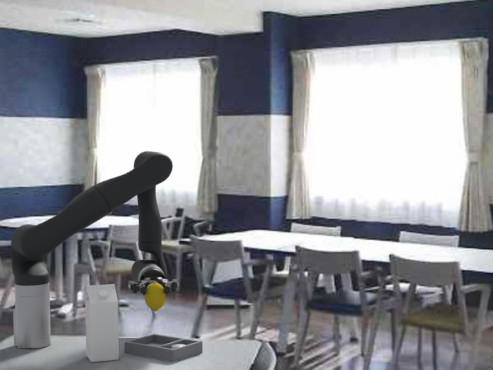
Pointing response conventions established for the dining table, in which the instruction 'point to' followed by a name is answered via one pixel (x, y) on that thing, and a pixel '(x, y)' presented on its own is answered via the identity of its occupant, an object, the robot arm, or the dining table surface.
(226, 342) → the dining table surface
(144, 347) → the grey divided tray
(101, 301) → the milk carton
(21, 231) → the robot arm
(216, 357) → the dining table surface
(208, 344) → the dining table surface
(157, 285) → the lemon
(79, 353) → the dining table surface
